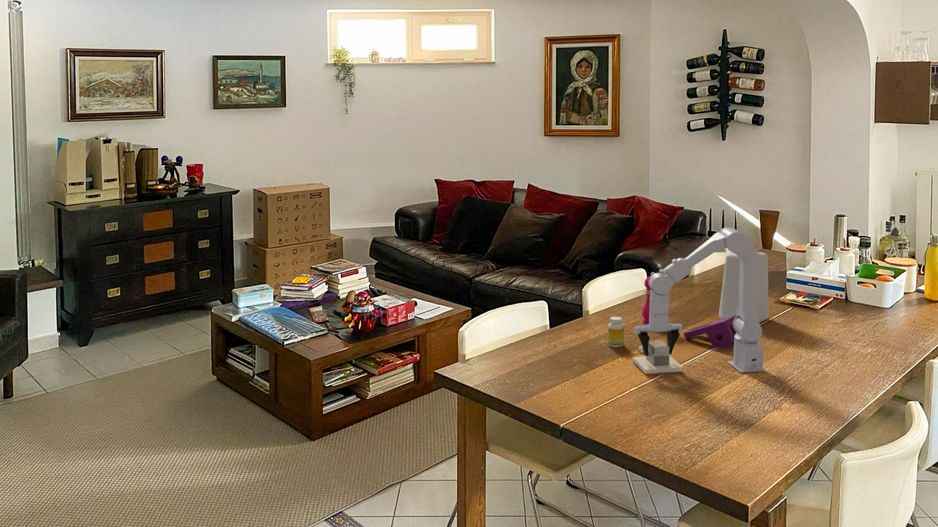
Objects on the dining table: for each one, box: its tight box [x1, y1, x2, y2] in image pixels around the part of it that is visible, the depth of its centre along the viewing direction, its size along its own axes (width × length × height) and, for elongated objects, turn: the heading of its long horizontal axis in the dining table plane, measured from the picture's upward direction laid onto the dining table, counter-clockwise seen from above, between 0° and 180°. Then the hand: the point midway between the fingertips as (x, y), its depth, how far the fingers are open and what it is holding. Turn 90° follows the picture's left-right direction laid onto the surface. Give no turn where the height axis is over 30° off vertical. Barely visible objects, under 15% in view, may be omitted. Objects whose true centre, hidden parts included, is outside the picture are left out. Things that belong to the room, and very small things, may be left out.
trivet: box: [632, 354, 684, 376], centre depth 254 cm, size 12×12×2 cm
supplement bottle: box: [606, 316, 625, 348], centre depth 276 cm, size 5×5×10 cm
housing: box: [646, 339, 671, 366], centre depth 253 cm, size 7×5×6 cm
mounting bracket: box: [683, 315, 736, 349], centre depth 278 cm, size 9×8×18 cm
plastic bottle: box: [718, 244, 770, 323], centre depth 301 cm, size 15×15×28 cm
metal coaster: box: [637, 345, 644, 355], centre depth 270 cm, size 9×9×1 cm
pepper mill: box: [641, 271, 655, 325], centre depth 296 cm, size 7×7×20 cm
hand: (657, 354), depth 253 cm, fingers open, 7 cm apart
